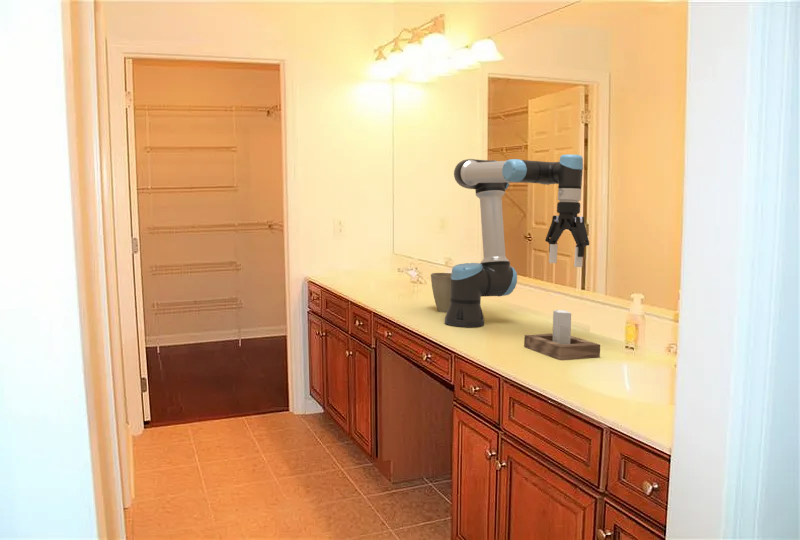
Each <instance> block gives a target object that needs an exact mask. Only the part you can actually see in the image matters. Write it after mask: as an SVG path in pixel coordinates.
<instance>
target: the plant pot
mask: <svg viewBox="0 0 800 540" xmlns="http://www.w3.org/2000/svg"><path fill="white" fill-rule="evenodd" d="M451 273H452V272H434V273H433V272H431V273H430V280H431V289H432V293H433V298H434V302H435V306H436V309H437V311H438V312H440V311H441V312H442V313H447V311H448V308H449V305H450V296H451Z"/></svg>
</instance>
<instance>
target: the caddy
mask: <svg viewBox="0 0 800 540" xmlns="http://www.w3.org/2000/svg"><path fill="white" fill-rule="evenodd" d="M523 339H524V341H523V342H524V343H523V348H525V349H529V350H531V351H534V352H537V353H540V354H542V355H545V356H548V357H550V358H554V359H556V360H559V361H568V360H569V361H570V360H580V359H583V360H584V359H594V358H600V355H601V344H599V343H596V342H594V341H589V340H586V339H582V338H580V337H576V336H573V335H571V336H570V344H564V345H563V344H559V343H556V342H553V333H538V334H524V338H523Z"/></svg>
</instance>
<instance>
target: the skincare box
mask: <svg viewBox="0 0 800 540" xmlns="http://www.w3.org/2000/svg"><path fill="white" fill-rule="evenodd" d="M552 311H553V312H552V313H553V314H552V334H553V342H556V343H559V344H563V345H564V344H570V336H572V335H571V334H572V333H571V331H572V330H571V329H572V312H570V311H567V310H566V309H565V310H563V309H556V310H555V309H554V310H552Z"/></svg>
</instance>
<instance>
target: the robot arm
mask: <svg viewBox="0 0 800 540" xmlns="http://www.w3.org/2000/svg"><path fill="white" fill-rule="evenodd" d="M583 170H584V157H583V156H582V155H580V154H571V153H570V154H562V155H560V158H559V161H540V160H528V159H527V160H526V159H519V158H513V159H512V158H511V159H507V160H499V161H497V160H493V159H492V160H490V159H474V158H468V159H463V160H461V161H460V162H458V163H457V164H456V165H455V168H454V170H453V176H454V177H453V178H454V181H455V182H456V183H457V184H458V185H459V186H460V187H462V188H465V189H468V190H475V196H476V197H477V198H478V199H479V207H480V218H481V219H480V220H481V221H480V223H481V234H482V235H481V236H482V237H481V238H482V251H483V259H482V260H481V261H480V262H470V263H469V262H467V263H466V262H465V263H458V264H455V265H454V266H453V267H452V268H451V272H450V273H451V296H450V305H449V308H448V311H447V312H445V313H446V314H445V316H444V324H446V325H448V326H452V327H459V328H460V327H461V328H479V327H483V326H484V325H485V317H484V313H483V310H482V307H481V302H482V301H481V299H482V298H481V297H504V296H509V295H510V294H512V293H513V292H514V290H515V289H516V286H517V282H518V273H517V270H516V269H515V268H514V267H513V266H511V261H510V260H509V259H508V258H507V256H506V246H505V245H506V243H505V242H506V241H505V230H504V229H505V228H504V217H503V216H504V215H503V201H502V198H503V197H504V195H505V194H506V190H507V189H508V188H509V187H510V183H522V184H523V183H527V184H540V185H547V186H549V185H558V186H557V187H558V190H557V191H558V192H557V200H558V201H559V202H558V201H557V204H556V213H557V214H558V215H552V218H551V219H552V220H551V223H550V226H549V227H548V228H549V229H548V232H547V233H546V236H545V242H547V243H548V244H549V248H548V253H549V254H548V255H549V256H548V257H549V258H548V263H549V264H557V262H558V245H559V244H558V241H559V239H560V237H561V236H562V234H563V232H564V231H566V230H568V231H570V233H571V235H572V237H573V239H574V241H575V242H574V243H575V244H576V245H575V247H574V249H575V250H574V263H573V267H574V268H582V267H583V259H584V256H585V247H587V246H589V245H590V240H589V236H588V233H587V228H586V224H585V217H584V216H579V214H580V213H581V203H580V202H581V200H582V184H583Z"/></svg>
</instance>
